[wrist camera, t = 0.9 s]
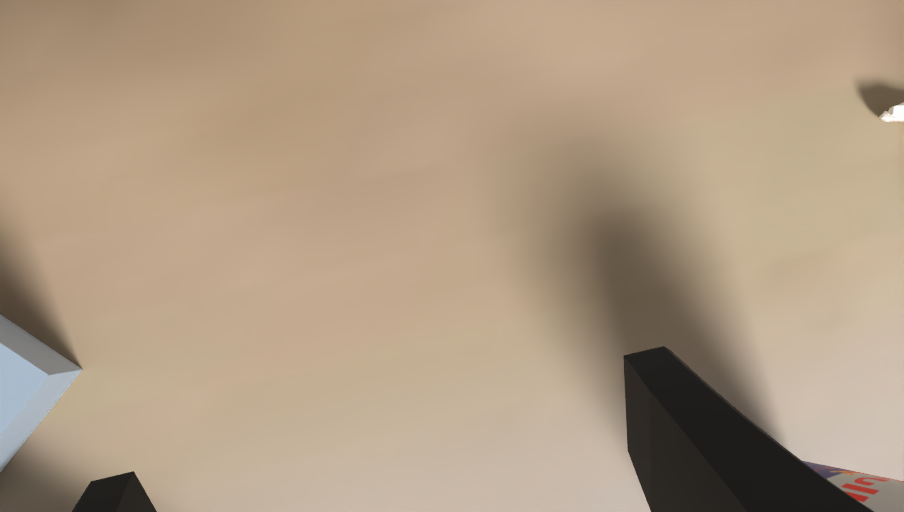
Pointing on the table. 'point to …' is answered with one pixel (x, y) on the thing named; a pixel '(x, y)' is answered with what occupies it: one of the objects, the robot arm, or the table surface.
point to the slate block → (27, 385)
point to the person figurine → (894, 114)
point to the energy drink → (866, 488)
